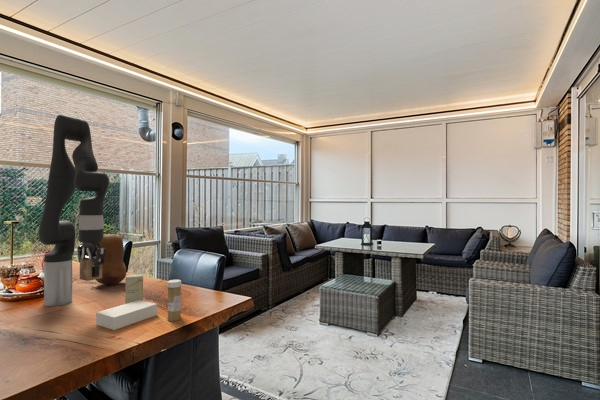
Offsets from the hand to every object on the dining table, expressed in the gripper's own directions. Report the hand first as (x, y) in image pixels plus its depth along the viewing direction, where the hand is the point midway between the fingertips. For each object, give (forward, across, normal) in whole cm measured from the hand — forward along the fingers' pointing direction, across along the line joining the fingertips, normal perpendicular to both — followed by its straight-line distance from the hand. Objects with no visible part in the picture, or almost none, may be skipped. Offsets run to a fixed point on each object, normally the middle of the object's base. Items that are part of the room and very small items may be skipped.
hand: (90, 275), depth 117 cm
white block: (+15, -13, -5) cm, 21 cm away
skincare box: (+15, -2, -15) cm, 21 cm away
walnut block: (+1, 0, 0) cm, 1 cm away
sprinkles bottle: (+15, -27, -13) cm, 34 cm away
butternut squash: (+15, +40, -31) cm, 53 cm away
